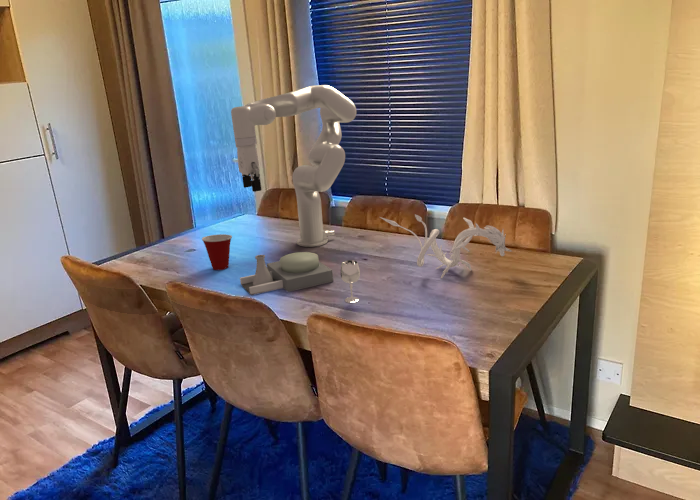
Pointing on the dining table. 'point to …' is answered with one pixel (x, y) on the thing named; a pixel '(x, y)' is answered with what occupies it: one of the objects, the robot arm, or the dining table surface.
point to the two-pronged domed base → (291, 274)
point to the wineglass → (350, 276)
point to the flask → (261, 272)
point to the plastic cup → (218, 250)
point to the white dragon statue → (456, 243)
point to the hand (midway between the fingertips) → (252, 188)
